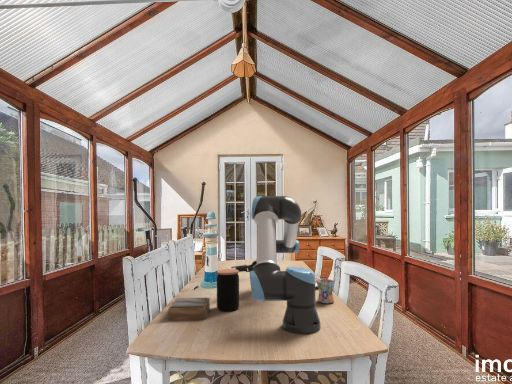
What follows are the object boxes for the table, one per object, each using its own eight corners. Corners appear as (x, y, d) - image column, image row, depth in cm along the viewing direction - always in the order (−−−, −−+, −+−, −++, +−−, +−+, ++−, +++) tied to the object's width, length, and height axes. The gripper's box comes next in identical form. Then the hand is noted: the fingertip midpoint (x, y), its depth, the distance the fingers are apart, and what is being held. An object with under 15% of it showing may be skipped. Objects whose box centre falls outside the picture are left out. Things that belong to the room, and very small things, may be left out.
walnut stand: (205, 319, 142) (205, 306, 142) (168, 320, 142) (168, 307, 142) (209, 308, 158) (209, 297, 158) (176, 309, 158) (176, 297, 158)
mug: (337, 304, 162) (337, 282, 163) (319, 305, 161) (318, 283, 162) (330, 297, 174) (329, 277, 175) (313, 298, 173) (312, 278, 174)
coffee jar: (243, 307, 159) (243, 269, 160) (230, 313, 150) (230, 273, 151) (226, 304, 165) (225, 268, 165) (212, 309, 156) (212, 271, 156)
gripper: (279, 275, 179) (260, 283, 160) (241, 271, 191) (219, 278, 173) (279, 261, 179) (260, 268, 161) (241, 258, 192) (219, 264, 173)
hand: (239, 273), depth 167 cm, fingers open, 13 cm apart
